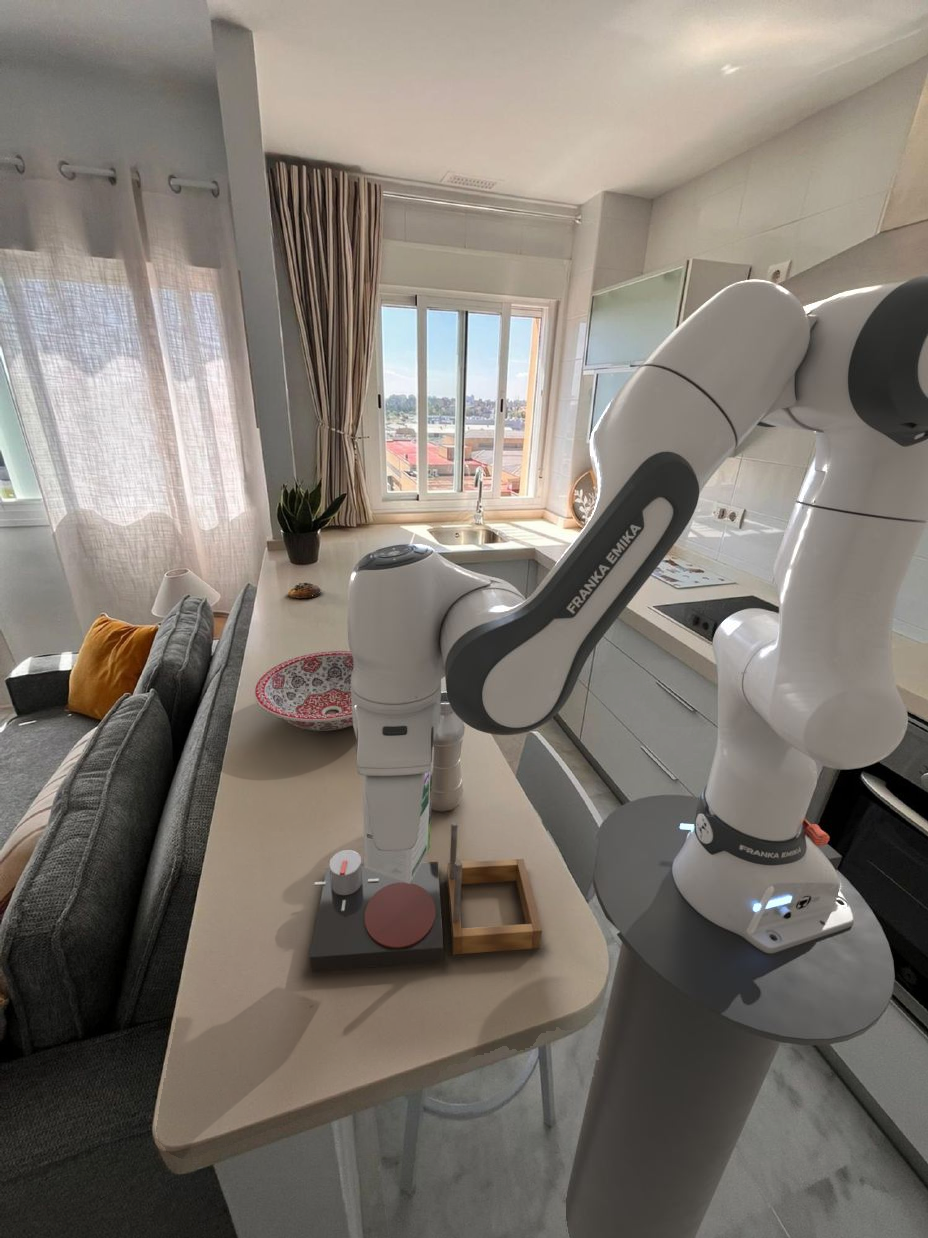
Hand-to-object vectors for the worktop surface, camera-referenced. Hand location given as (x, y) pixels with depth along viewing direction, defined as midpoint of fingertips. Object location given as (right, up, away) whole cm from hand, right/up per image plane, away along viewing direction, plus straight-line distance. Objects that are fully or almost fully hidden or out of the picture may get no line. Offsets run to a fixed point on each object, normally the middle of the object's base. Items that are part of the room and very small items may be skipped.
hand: (398, 814), depth 55 cm
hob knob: (-8, -13, +10) cm, 18 cm away
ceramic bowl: (-21, +1, +51) cm, 55 cm away
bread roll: (-50, +30, +122) cm, 135 cm away
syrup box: (0, -6, +2) cm, 7 cm away
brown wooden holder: (+11, -16, +9) cm, 21 cm away
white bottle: (+4, -9, +27) cm, 29 cm away
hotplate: (-1, -14, +6) cm, 16 cm away
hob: (-3, -16, +8) cm, 18 cm away
